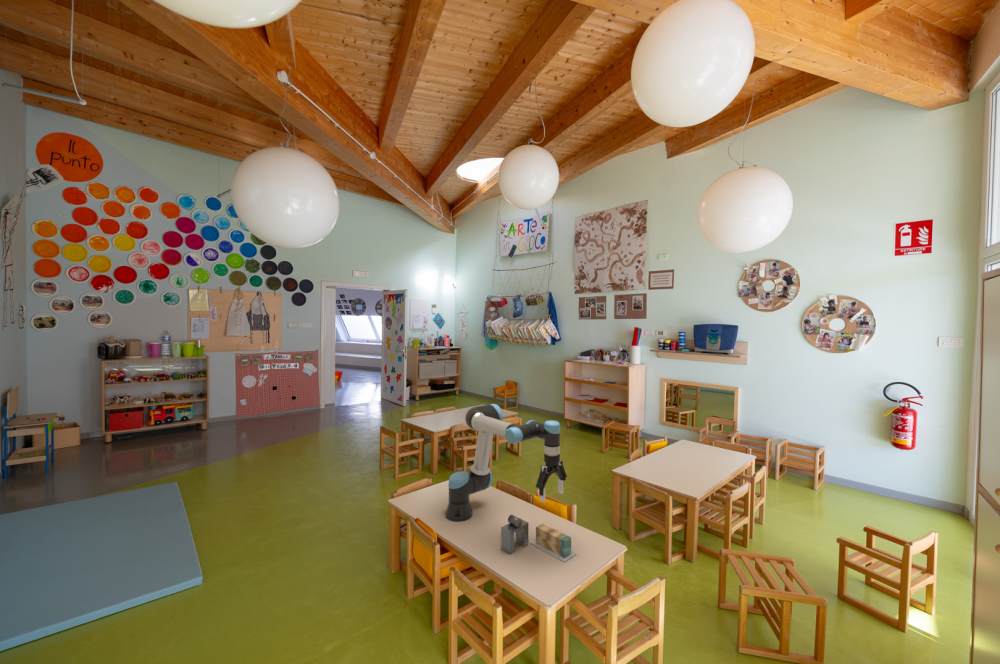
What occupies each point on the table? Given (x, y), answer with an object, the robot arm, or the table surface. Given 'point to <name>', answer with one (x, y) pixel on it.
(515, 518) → the housing
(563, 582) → the table surface
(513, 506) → the table surface
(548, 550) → the mat
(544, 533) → the plug
